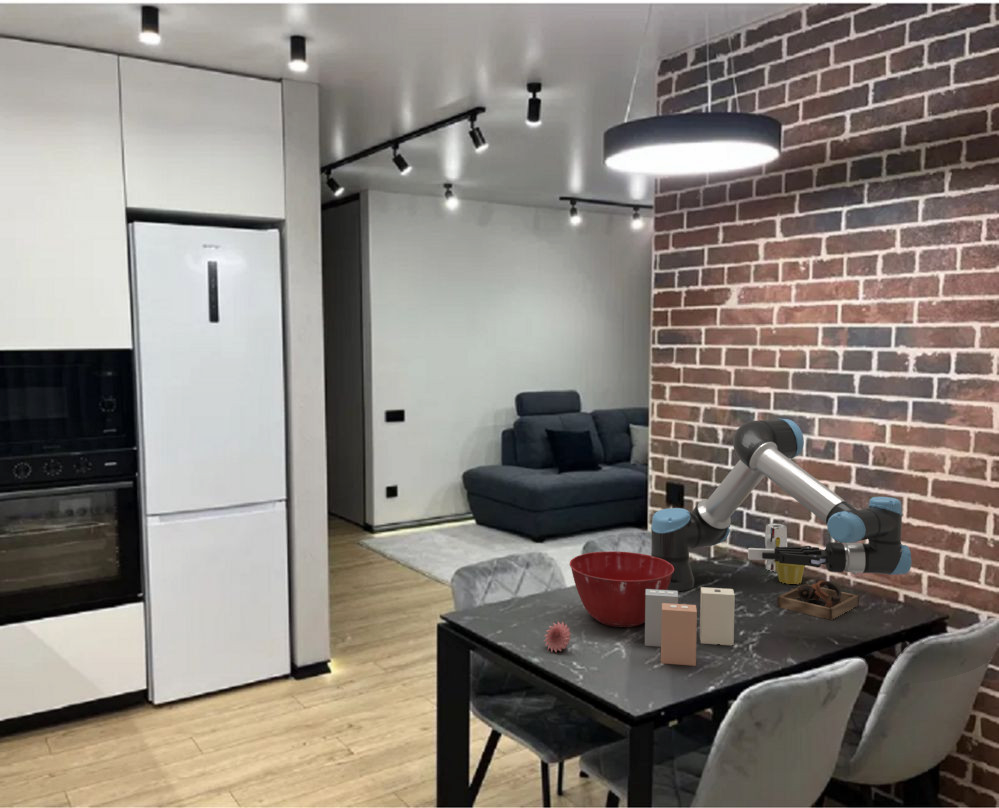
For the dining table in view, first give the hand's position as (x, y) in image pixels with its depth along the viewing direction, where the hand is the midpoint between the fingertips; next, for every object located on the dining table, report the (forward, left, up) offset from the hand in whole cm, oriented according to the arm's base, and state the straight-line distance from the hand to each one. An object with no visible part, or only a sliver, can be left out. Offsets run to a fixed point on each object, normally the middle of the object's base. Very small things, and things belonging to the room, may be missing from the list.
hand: (748, 553), depth 212 cm
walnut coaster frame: (+4, +34, -21) cm, 40 cm away
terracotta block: (-2, -30, -21) cm, 36 cm away
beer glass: (-23, +61, -21) cm, 68 cm away
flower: (-26, -45, -21) cm, 56 cm away
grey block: (-11, -23, -21) cm, 33 cm away
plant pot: (-13, +51, -21) cm, 56 cm away
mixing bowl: (-29, -16, -21) cm, 39 cm away
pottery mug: (+4, +35, -21) cm, 41 cm away
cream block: (-2, -12, -21) cm, 24 cm away
